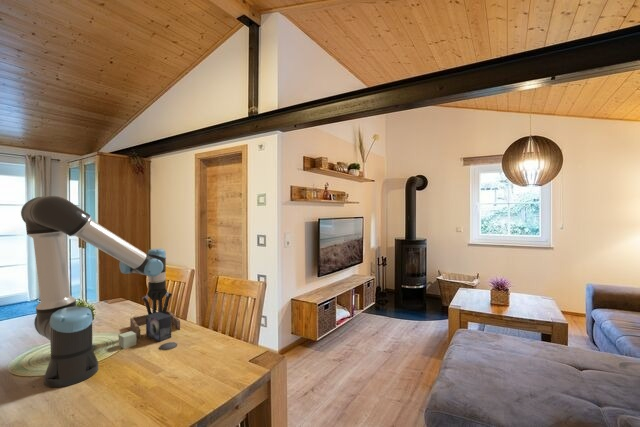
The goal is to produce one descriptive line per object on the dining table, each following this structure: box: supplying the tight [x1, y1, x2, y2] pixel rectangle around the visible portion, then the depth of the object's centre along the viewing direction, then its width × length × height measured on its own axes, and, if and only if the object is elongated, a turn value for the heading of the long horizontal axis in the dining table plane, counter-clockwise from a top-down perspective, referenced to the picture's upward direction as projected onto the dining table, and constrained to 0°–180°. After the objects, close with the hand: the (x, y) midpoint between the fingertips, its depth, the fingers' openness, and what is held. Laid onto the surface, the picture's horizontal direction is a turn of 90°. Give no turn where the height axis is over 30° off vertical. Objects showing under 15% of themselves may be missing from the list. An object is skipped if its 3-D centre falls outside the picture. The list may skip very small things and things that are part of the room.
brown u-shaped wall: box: [129, 309, 181, 341], centre depth 153 cm, size 20×18×4 cm
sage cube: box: [118, 330, 137, 349], centre depth 134 cm, size 5×5×5 cm
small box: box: [145, 311, 172, 343], centre depth 141 cm, size 11×6×10 cm, turn 60°
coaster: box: [159, 341, 178, 351], centre depth 132 cm, size 7×7×1 cm
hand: (157, 329), depth 148 cm, fingers closed
